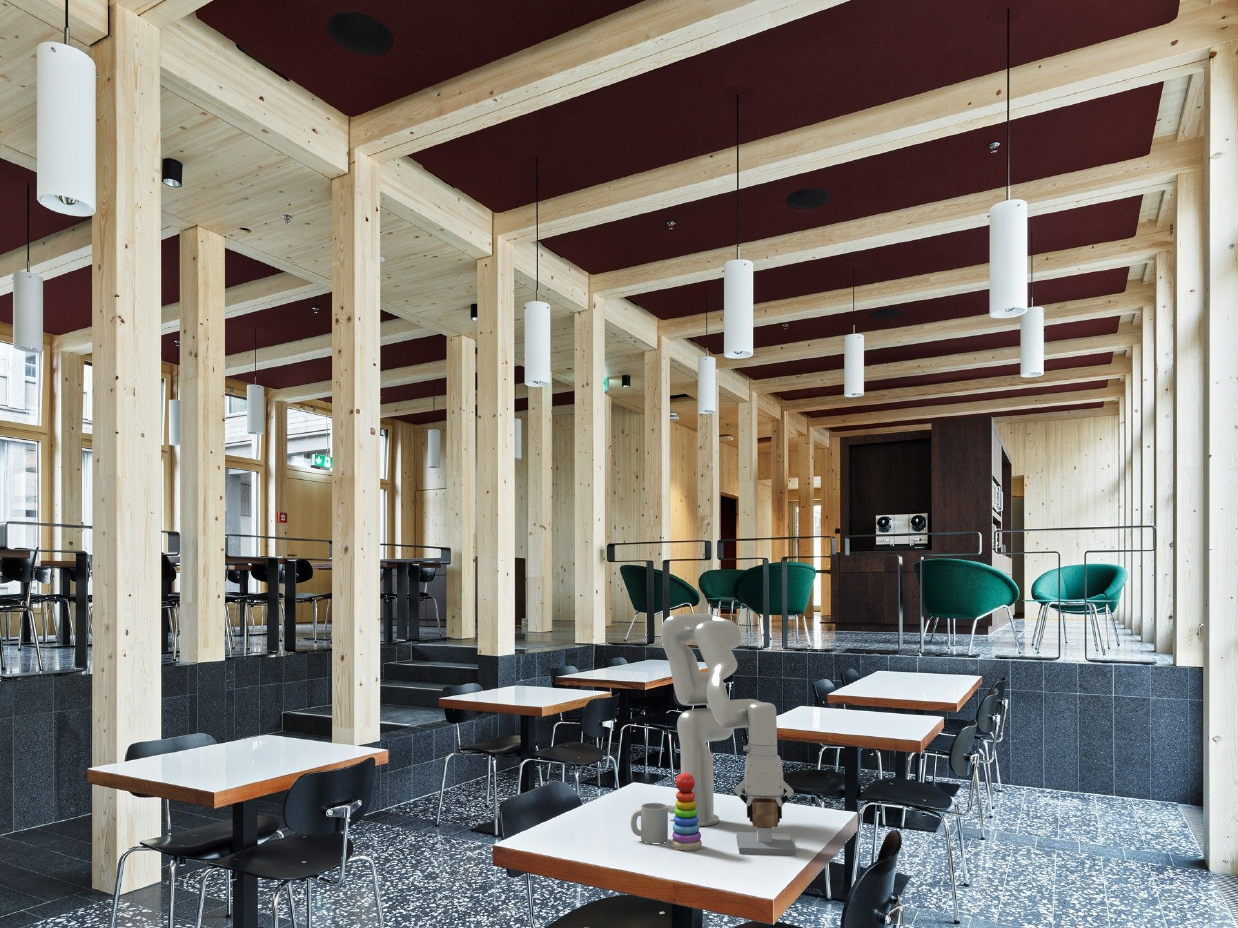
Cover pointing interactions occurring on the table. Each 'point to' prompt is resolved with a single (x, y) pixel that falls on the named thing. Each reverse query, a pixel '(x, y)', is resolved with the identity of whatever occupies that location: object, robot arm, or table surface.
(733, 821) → the table surface
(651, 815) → the cup
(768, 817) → the wooden cube shelf
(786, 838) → the board
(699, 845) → the stacking toy
